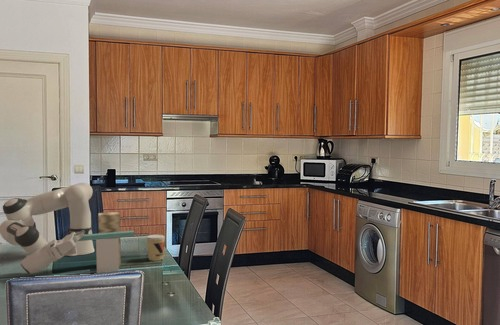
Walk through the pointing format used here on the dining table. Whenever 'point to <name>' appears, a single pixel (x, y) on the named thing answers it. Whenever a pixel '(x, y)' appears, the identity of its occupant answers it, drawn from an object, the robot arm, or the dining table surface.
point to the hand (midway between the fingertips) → (84, 232)
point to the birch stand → (110, 225)
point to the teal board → (106, 235)
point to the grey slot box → (107, 254)
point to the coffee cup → (155, 247)
